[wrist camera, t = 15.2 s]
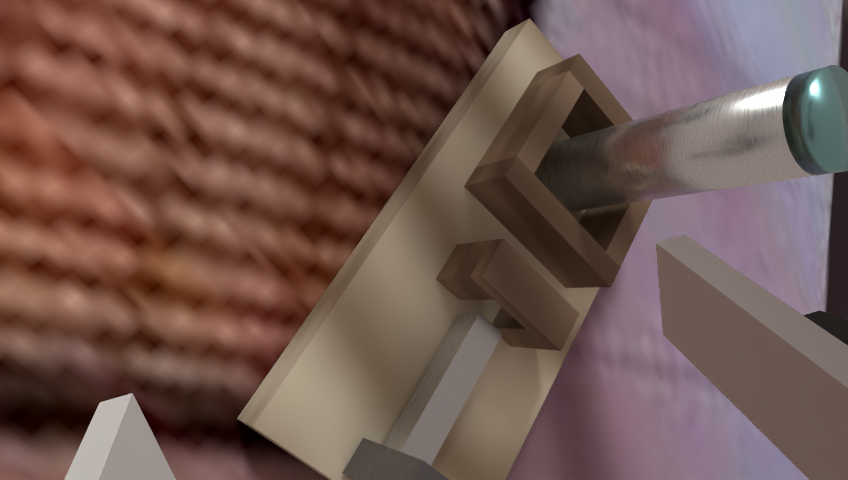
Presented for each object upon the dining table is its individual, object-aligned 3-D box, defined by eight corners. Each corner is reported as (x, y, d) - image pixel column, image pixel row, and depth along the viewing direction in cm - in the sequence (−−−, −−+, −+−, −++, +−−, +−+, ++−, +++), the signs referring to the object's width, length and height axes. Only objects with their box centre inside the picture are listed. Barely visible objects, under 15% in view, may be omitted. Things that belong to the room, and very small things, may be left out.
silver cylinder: (545, 130, 34) (831, 43, 22) (585, 177, 35) (875, 118, 23) (513, 181, 32) (801, 117, 21) (556, 228, 34) (850, 192, 22)
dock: (505, 31, 36) (577, -8, 31) (629, 177, 40) (708, 161, 36) (236, 418, 26) (284, 442, 22) (438, 552, 31) (512, 596, 26)
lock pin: (446, 299, 30) (512, 299, 26) (496, 344, 31) (567, 351, 27) (342, 473, 26) (399, 503, 22) (404, 515, 28) (469, 550, 24)
